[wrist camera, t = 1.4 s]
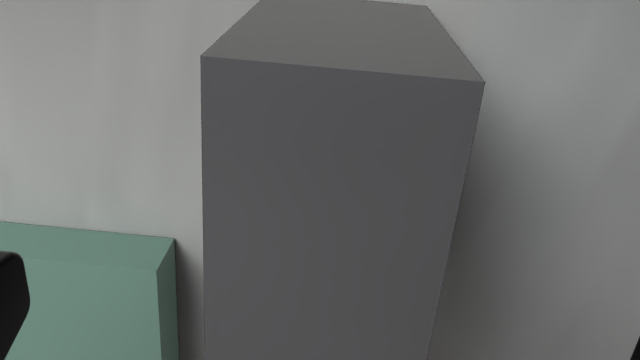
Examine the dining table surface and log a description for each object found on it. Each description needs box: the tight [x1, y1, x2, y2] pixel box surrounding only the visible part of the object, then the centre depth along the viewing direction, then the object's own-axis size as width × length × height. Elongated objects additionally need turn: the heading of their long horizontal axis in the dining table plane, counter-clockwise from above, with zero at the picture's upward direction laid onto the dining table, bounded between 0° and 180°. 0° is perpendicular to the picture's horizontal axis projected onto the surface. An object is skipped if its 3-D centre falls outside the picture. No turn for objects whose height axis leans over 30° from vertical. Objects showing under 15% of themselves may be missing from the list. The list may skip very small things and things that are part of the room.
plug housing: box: [201, 0, 485, 360], centre depth 11 cm, size 7×3×6 cm, turn 176°
